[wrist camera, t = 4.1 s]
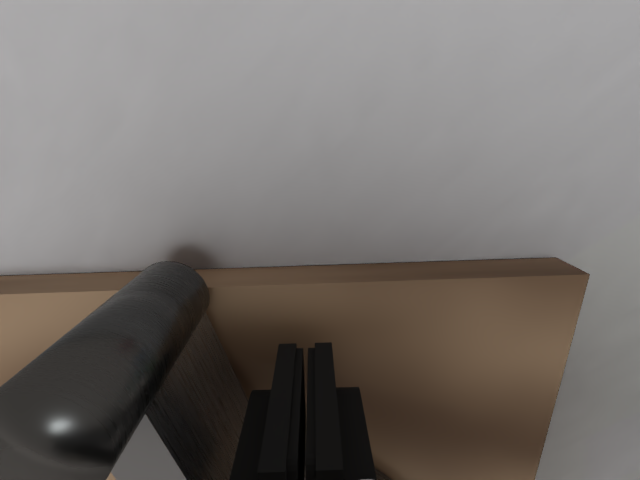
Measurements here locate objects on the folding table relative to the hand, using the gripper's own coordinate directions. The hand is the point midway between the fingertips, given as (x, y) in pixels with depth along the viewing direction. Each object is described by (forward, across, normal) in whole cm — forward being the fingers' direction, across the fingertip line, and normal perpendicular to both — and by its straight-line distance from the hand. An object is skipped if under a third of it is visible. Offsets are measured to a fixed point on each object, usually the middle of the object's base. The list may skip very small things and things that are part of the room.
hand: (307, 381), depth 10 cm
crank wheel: (+1, +2, +5) cm, 5 cm away
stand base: (+3, +2, +9) cm, 10 cm away
